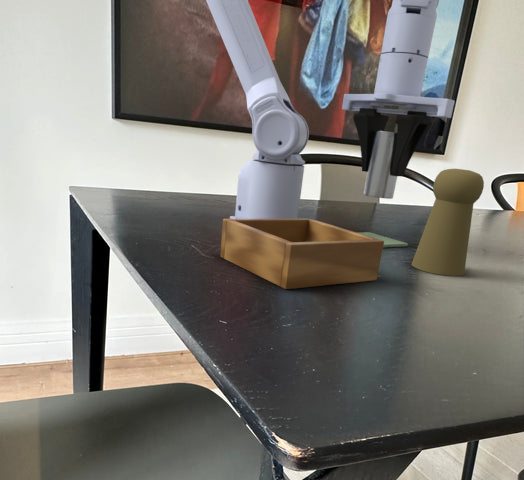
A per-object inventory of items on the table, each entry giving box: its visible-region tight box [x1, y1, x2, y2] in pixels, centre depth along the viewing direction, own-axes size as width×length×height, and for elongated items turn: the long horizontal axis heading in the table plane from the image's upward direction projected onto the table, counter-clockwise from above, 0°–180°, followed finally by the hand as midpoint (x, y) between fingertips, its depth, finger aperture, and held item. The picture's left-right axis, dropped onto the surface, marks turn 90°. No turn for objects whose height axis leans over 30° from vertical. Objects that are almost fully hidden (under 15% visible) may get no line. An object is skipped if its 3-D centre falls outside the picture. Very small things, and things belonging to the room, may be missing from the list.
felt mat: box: [358, 231, 409, 249], centre depth 70 cm, size 8×8×1 cm
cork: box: [411, 168, 485, 277], centre depth 56 cm, size 6×6×11 cm
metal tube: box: [363, 130, 398, 200], centre depth 66 cm, size 4×4×8 cm
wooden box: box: [219, 217, 384, 290], centre depth 50 cm, size 12×12×4 cm
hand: (381, 173), depth 66 cm, fingers closed on metal tube, 4 cm apart
